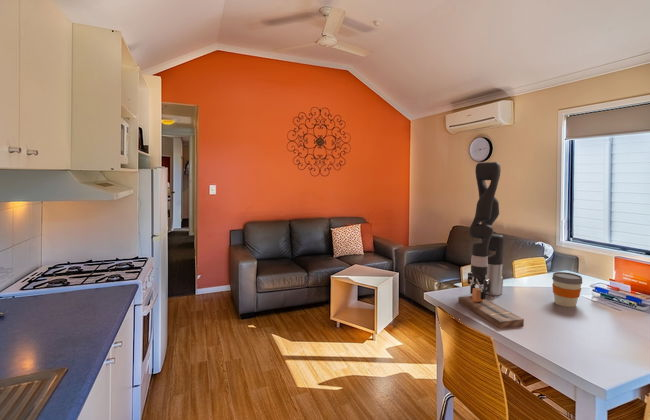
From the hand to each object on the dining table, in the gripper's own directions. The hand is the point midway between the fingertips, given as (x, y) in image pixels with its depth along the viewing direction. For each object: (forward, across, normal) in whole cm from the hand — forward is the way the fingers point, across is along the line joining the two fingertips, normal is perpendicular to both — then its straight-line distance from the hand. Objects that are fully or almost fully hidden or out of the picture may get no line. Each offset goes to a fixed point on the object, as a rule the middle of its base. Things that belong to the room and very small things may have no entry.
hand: (477, 296), depth 168 cm
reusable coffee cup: (+6, -6, -47) cm, 48 cm away
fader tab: (+2, 0, 0) cm, 2 cm away
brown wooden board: (+5, -8, 0) cm, 10 cm away
